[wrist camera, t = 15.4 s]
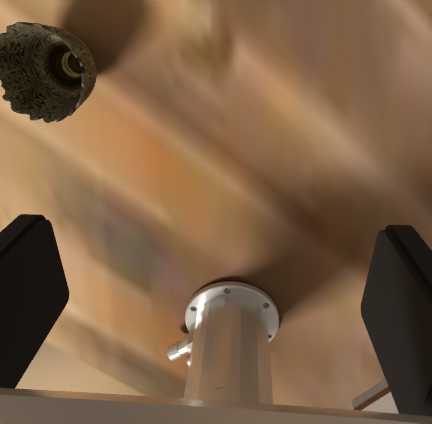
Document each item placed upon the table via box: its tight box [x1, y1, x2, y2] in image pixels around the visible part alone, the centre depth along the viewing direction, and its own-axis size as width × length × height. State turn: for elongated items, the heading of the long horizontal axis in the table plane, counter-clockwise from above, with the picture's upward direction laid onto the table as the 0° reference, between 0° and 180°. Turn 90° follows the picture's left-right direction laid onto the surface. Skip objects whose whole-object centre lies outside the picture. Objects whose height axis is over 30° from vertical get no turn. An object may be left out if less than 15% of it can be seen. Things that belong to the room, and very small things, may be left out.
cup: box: [0, 22, 97, 123], centre depth 32 cm, size 8×7×8 cm
